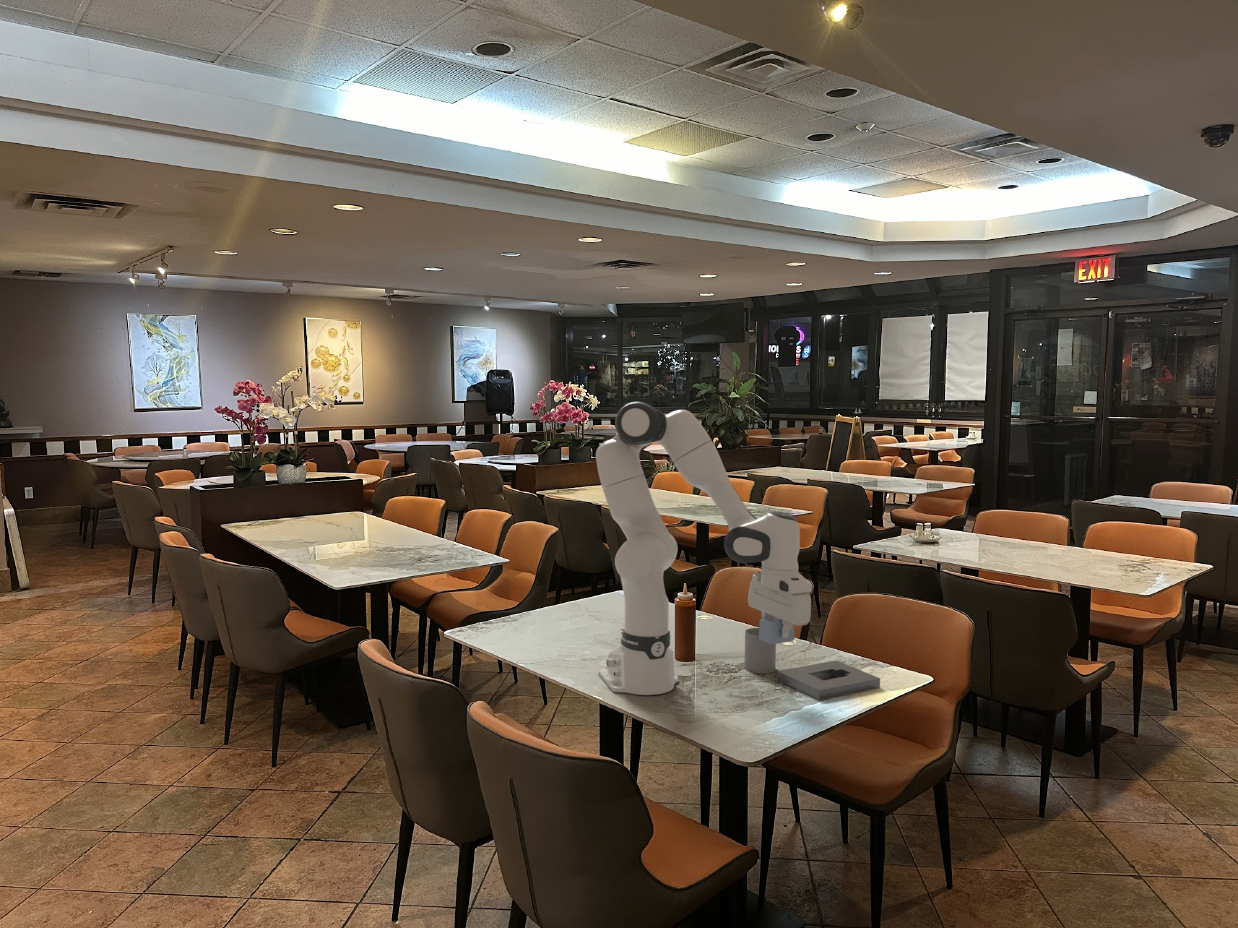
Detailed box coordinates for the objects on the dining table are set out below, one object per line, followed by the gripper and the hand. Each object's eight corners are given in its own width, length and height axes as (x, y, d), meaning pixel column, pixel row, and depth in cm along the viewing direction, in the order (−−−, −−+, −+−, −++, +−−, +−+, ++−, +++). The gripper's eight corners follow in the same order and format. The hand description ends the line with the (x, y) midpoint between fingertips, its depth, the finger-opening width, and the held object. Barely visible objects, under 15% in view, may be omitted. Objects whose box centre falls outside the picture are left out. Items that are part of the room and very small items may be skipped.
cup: (741, 670, 218) (742, 634, 217) (747, 661, 226) (748, 626, 225) (772, 674, 215) (773, 637, 214) (777, 665, 223) (778, 629, 222)
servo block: (758, 639, 200) (760, 615, 199) (786, 635, 204) (787, 612, 203) (770, 644, 196) (771, 619, 195) (797, 640, 200) (799, 616, 199)
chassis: (777, 680, 210) (777, 670, 210) (835, 669, 220) (836, 660, 220) (818, 700, 196) (819, 690, 196) (879, 687, 206) (880, 678, 205)
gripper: (743, 570, 206) (740, 623, 207) (795, 588, 188) (792, 646, 189) (763, 568, 209) (760, 621, 210) (817, 586, 191) (813, 644, 192)
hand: (776, 633), depth 199 cm, fingers closed on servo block, 4 cm apart
